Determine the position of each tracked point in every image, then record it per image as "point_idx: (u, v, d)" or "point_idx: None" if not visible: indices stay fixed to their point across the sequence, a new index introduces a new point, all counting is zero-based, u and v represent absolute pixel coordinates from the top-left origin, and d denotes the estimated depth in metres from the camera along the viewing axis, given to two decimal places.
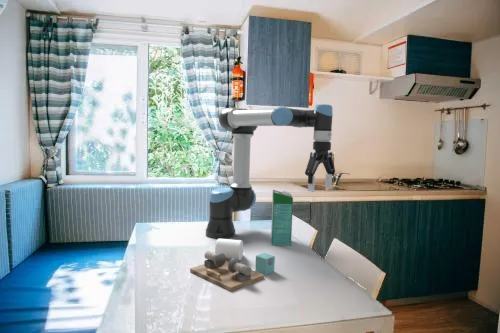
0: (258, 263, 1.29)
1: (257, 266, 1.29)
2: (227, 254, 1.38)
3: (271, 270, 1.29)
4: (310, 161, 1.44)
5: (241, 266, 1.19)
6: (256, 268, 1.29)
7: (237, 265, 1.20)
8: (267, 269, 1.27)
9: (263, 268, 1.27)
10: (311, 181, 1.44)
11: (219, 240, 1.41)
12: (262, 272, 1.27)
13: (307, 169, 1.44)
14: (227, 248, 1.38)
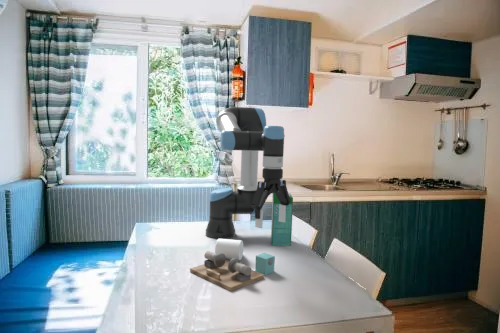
0: (258, 263, 1.29)
1: (257, 266, 1.29)
2: (227, 254, 1.38)
3: (271, 270, 1.29)
4: (257, 192, 1.23)
5: (241, 266, 1.19)
6: (256, 268, 1.29)
7: (237, 265, 1.20)
8: (267, 269, 1.27)
9: (263, 268, 1.27)
10: (258, 216, 1.23)
11: (219, 240, 1.41)
12: (262, 272, 1.27)
13: (253, 202, 1.22)
14: (227, 248, 1.38)
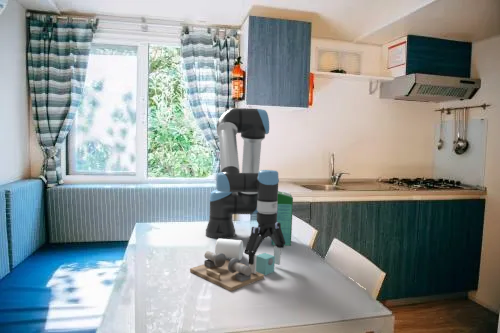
0: (258, 263, 1.29)
1: (257, 266, 1.29)
2: (227, 254, 1.38)
3: (271, 270, 1.29)
4: (251, 238, 1.23)
5: (241, 266, 1.19)
6: (256, 268, 1.29)
7: (237, 265, 1.20)
8: (267, 269, 1.27)
9: (263, 268, 1.27)
10: (252, 261, 1.23)
11: (219, 240, 1.41)
12: (262, 272, 1.27)
13: (247, 248, 1.22)
14: (227, 248, 1.38)
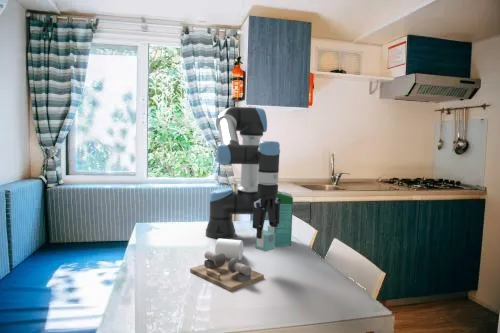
0: None
1: None
2: (227, 254, 1.38)
3: (271, 247, 1.28)
4: (255, 213, 1.24)
5: (241, 266, 1.19)
6: (256, 245, 1.29)
7: (237, 265, 1.20)
8: (268, 246, 1.27)
9: (264, 245, 1.27)
10: (260, 236, 1.26)
11: (219, 240, 1.41)
12: (262, 249, 1.27)
13: (254, 223, 1.24)
14: (227, 248, 1.38)
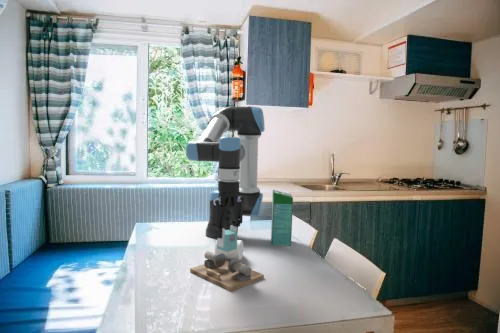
0: None
1: None
2: (227, 254, 1.38)
3: (233, 247, 1.23)
4: (214, 211, 1.19)
5: (241, 266, 1.19)
6: None
7: (237, 265, 1.20)
8: (229, 246, 1.22)
9: None
10: (220, 235, 1.21)
11: None
12: (223, 249, 1.22)
13: (213, 222, 1.19)
14: None
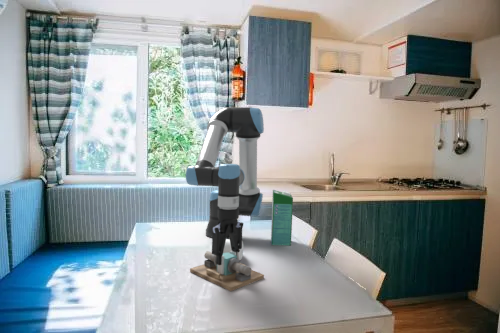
0: None
1: None
2: None
3: None
4: (214, 239, 1.20)
5: (241, 266, 1.19)
6: None
7: (237, 265, 1.20)
8: None
9: (224, 268, 1.22)
10: (220, 262, 1.21)
11: None
12: None
13: (213, 249, 1.20)
14: (227, 248, 1.38)
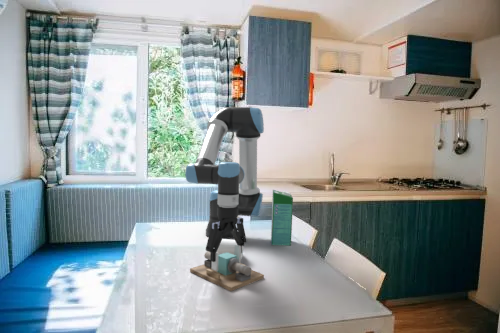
0: (219, 263, 1.24)
1: (218, 266, 1.24)
2: None
3: None
4: (211, 234, 1.19)
5: (241, 266, 1.19)
6: None
7: (237, 265, 1.20)
8: None
9: (224, 268, 1.22)
10: (214, 259, 1.20)
11: None
12: (223, 272, 1.23)
13: (208, 245, 1.19)
14: (227, 248, 1.38)
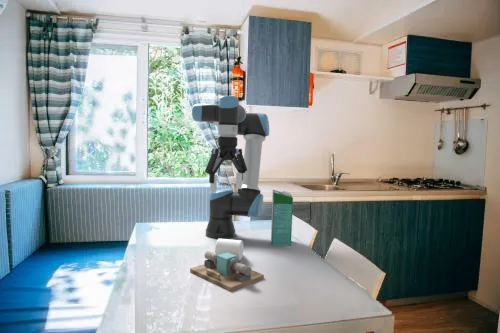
0: (219, 263, 1.24)
1: (218, 266, 1.24)
2: None
3: None
4: (211, 158, 1.31)
5: (241, 266, 1.19)
6: (217, 268, 1.25)
7: (237, 265, 1.20)
8: None
9: (224, 268, 1.22)
10: (212, 180, 1.31)
11: (219, 240, 1.41)
12: (223, 272, 1.23)
13: (207, 167, 1.30)
14: (227, 248, 1.38)
